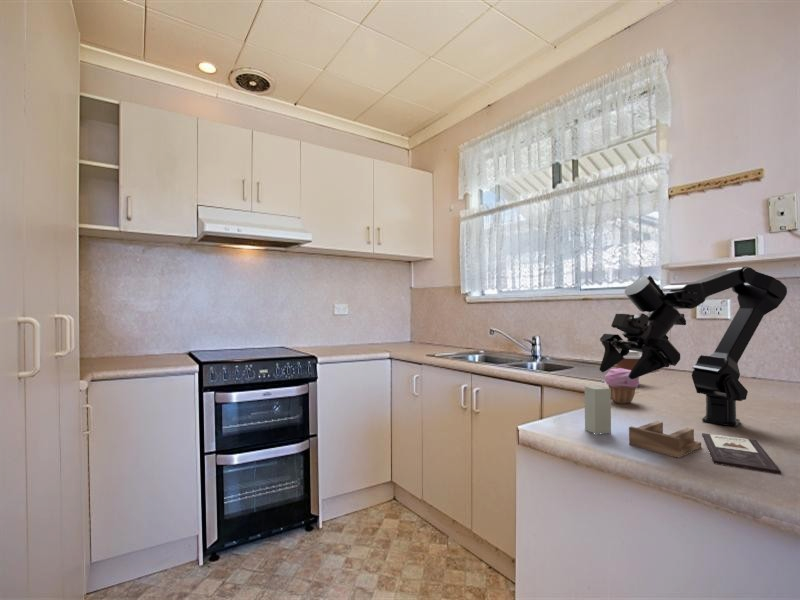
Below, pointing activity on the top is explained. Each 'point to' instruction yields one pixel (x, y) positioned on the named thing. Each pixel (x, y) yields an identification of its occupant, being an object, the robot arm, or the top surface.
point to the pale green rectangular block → (598, 409)
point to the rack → (663, 439)
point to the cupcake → (621, 385)
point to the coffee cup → (629, 360)
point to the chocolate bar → (739, 453)
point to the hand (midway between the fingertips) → (614, 374)
